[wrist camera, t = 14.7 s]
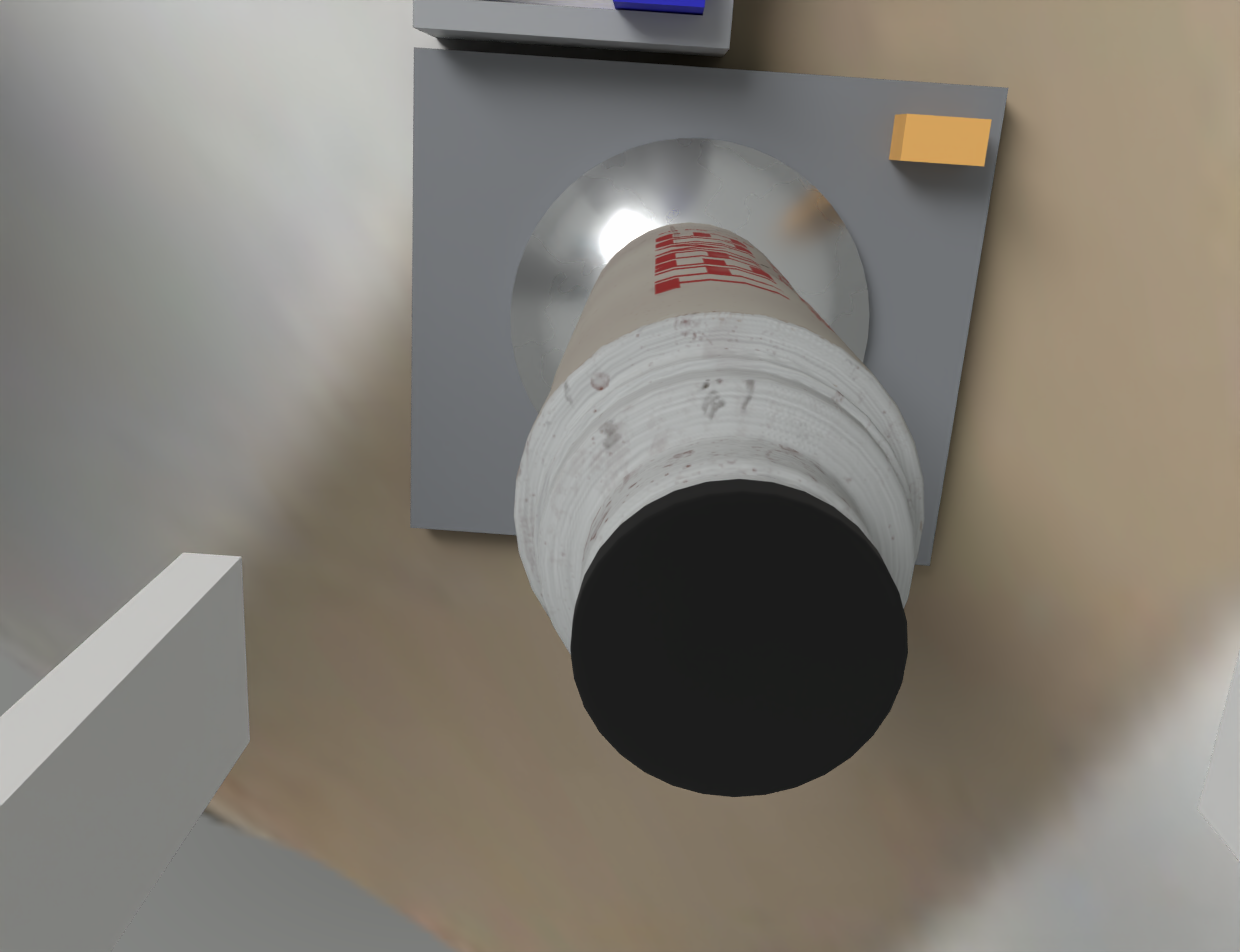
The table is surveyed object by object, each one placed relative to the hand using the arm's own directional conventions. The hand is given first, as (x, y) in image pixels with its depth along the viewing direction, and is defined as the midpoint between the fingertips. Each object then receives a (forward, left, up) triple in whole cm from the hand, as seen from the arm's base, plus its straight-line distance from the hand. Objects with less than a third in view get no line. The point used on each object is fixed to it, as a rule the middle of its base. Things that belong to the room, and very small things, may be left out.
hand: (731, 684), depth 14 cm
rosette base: (0, 0, -31) cm, 31 cm away
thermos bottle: (0, 0, -29) cm, 29 cm away
